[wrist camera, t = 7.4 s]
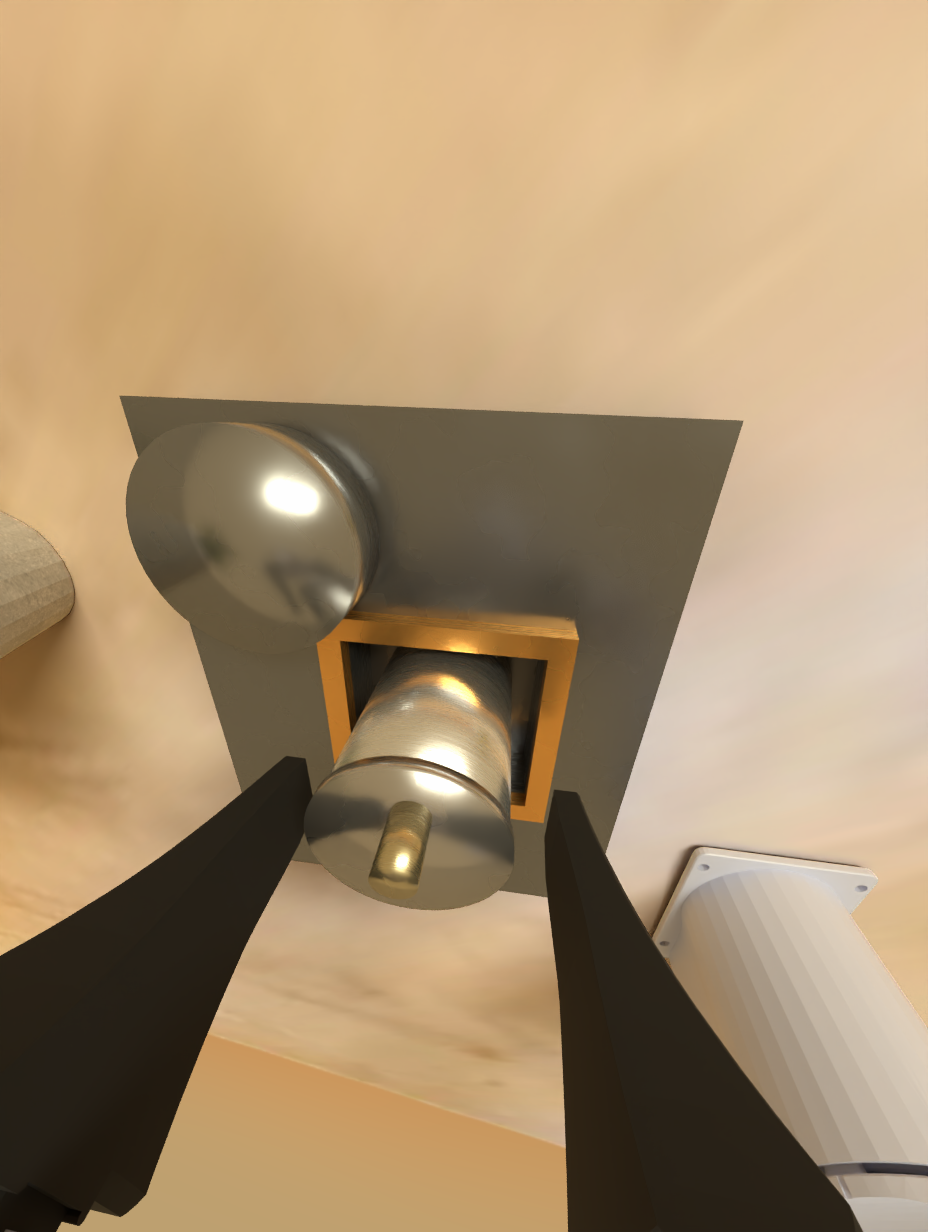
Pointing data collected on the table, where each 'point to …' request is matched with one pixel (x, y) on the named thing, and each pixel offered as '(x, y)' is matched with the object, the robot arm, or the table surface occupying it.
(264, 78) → the table surface
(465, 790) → the spout can
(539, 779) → the grey block with opening
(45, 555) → the house plant
